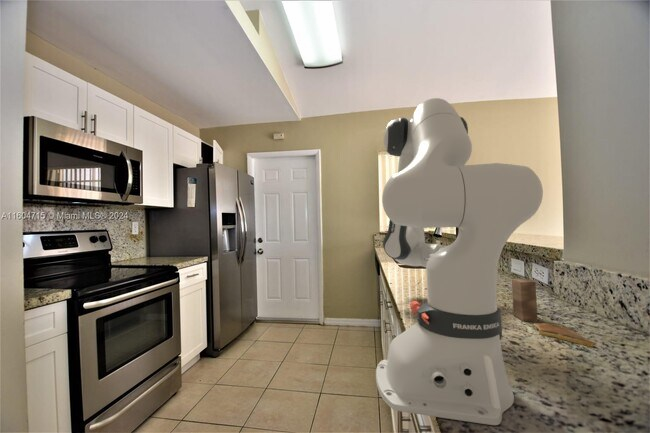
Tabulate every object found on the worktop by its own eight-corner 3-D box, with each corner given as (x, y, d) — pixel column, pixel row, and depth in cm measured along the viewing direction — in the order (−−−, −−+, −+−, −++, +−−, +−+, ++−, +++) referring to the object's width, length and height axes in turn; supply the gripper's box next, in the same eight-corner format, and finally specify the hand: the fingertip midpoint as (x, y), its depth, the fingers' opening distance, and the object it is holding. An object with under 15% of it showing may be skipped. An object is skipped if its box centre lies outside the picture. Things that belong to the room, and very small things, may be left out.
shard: (596, 350, 58) (596, 342, 58) (557, 348, 60) (557, 340, 60) (562, 330, 69) (561, 323, 69) (529, 329, 70) (528, 322, 70)
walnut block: (522, 321, 75) (520, 282, 75) (513, 316, 79) (511, 279, 79) (537, 321, 74) (535, 281, 75) (527, 316, 78) (525, 278, 79)
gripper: (420, 250, 89) (463, 253, 79) (446, 245, 103) (486, 246, 93) (421, 269, 89) (464, 274, 79) (447, 261, 103) (487, 264, 93)
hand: (476, 259), depth 86 cm, fingers open, 8 cm apart
